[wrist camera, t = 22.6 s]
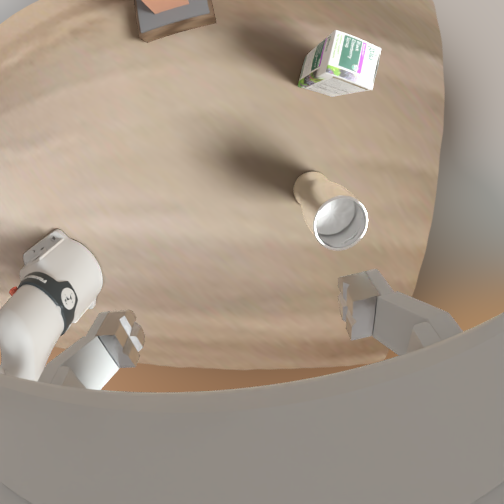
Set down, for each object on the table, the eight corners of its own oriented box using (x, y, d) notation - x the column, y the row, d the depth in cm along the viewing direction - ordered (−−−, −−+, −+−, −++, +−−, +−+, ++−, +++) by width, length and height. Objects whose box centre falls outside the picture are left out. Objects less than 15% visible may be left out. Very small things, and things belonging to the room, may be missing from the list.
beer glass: (283, 178, 42) (302, 208, 28) (324, 161, 41) (360, 184, 27) (299, 216, 45) (322, 261, 31) (338, 200, 44) (375, 238, 30)
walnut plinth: (147, 42, 31) (138, 36, 27) (139, -7, 26) (131, -15, 22) (216, 23, 30) (213, 14, 26) (205, -26, 25) (202, -37, 21)
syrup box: (304, 54, 33) (332, 26, 20) (341, 66, 33) (383, 47, 20) (297, 87, 35) (322, 71, 22) (334, 98, 36) (374, 91, 23)
